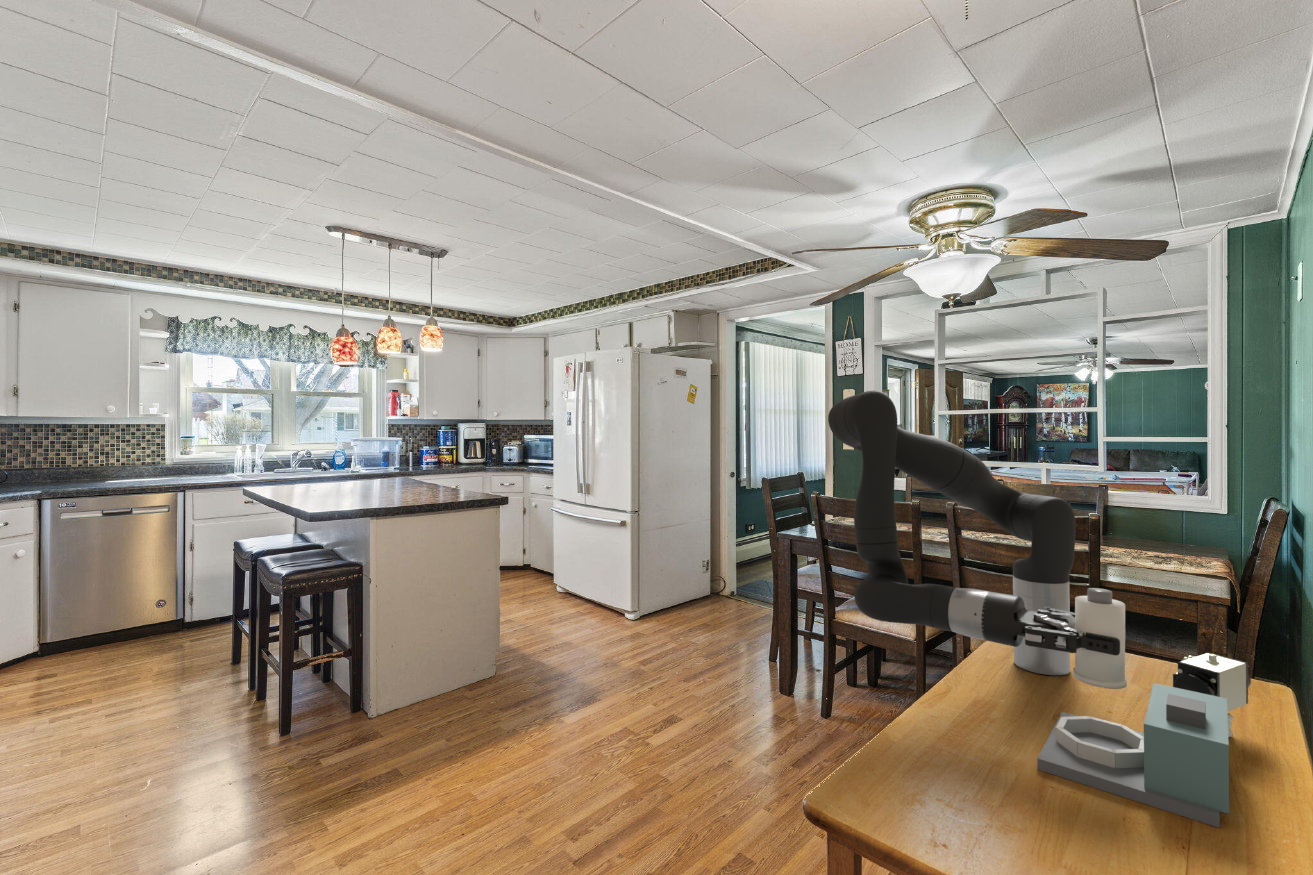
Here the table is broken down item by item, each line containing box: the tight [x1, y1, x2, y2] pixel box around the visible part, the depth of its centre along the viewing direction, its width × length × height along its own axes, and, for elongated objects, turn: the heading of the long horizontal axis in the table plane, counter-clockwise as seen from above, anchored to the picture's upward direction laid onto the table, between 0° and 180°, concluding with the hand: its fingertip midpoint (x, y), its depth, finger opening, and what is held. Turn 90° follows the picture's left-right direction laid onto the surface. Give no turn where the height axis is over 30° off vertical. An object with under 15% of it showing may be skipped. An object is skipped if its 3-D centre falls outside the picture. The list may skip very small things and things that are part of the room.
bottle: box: [1072, 587, 1128, 690], centre depth 83 cm, size 6×6×12 cm
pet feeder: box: [1036, 682, 1230, 829], centre depth 81 cm, size 19×19×12 cm
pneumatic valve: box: [1172, 652, 1252, 739], centre depth 90 cm, size 6×12×12 cm, turn 115°
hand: (1122, 641), depth 81 cm, fingers closed on bottle, 5 cm apart
